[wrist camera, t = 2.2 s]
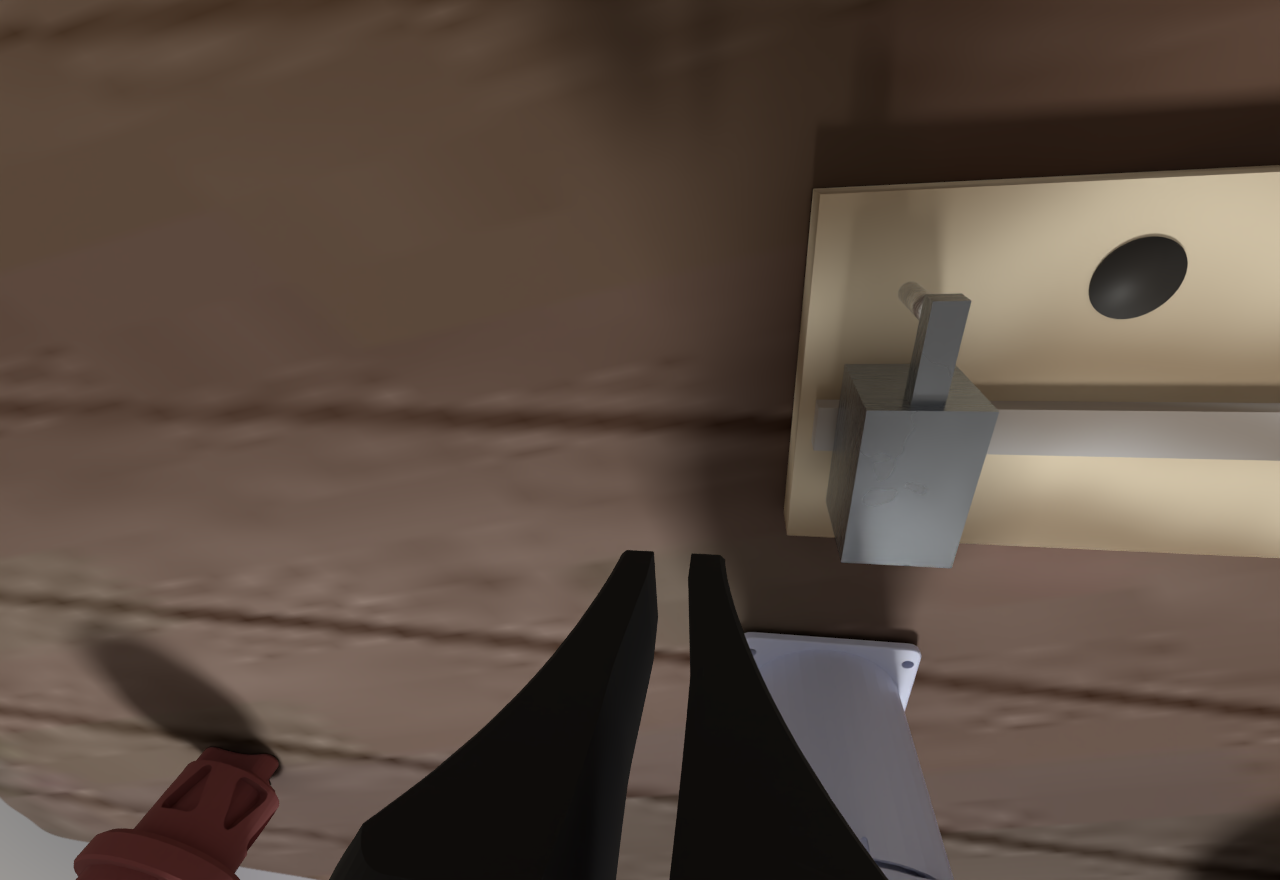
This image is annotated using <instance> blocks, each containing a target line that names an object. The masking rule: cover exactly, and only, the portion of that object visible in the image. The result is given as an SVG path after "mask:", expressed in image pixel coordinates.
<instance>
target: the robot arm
mask: <svg viewBox="0 0 1280 880" xmlns="http://www.w3.org/2000/svg"><path fill="white" fill-rule="evenodd" d="M688 588H689V634H690V687H689V698H688V709H687V720H686V730H685V740H684V751H683V761H682V771H681V780H680V790H679V800H678V809H677V819H676V827H675V836H674V845H673V854H672V863H671V871H670V880H954V878H953V875H952V871H951V868H950V865H949V861H948V858H947V854H946V851H945V848H944V844H943V841H942V837H941V834H940V831H939V827H938V824H937V820H936V817H935V814H934V810H933V807H932V804H931V800H930V797H929V793H928V790H927V787H926V783H925V780H924V776H923V773H922V770H921V766H920V763H919V760H918V756H917V753H916V749H915V746H914V743H913V739H912V736H911V732H910V729H909V726H908V722H907V719H906V715H905V709H906V706H907V703H908V699H909V696H910V693H911V689H912V686H913V683H914V679H915V676H916V673H917V670H918V666H919V663H920V660H921V653H920V650H919V648H918V647H917V646H916V645H914V644H909V643H896V642H882V641H869V640H855V639H842V638H828V637H815V636H801V635H787V634H774V633H760V632H747V633H744V632H743V629H742V626H741V624H740V621H739V618H738V615H737V612H736V609H735V606H734V603H733V599H732V596H731V592H730V588H729V584H728V579H727V574H726V568H725V559H724V558H723V557H722V556H720V555H709V554H692V555H691V562H690V569H689V577H688ZM657 621H658V610H657V594H656V578H655V563H654V552H652V551H633V550H626V551H625V552H624V553H623V554H622V555H621V557H620V559H619V561H618V562H617V564H616V566H615V568H614V569H613V571H612V573H611V575H610V576H609V578H608V579H607V581H606V583H605V584H604V586H603V587H602V589H601V590H600V592H599V593H598V595H597V597H596V598H595V599H594V601H593V602H592V604H591V605H590V607H589V608H588V609H587V611H586V612H585V614H584V615H583V617H582V618H581V619H580V621H579V622H578V623H577V625H576V626H575V628H574V629H573V630H572V631H571V633H570V634H569V635H568V636H567V638H566V639H565V640H564V641H563V643H562V644H561V645H560V647H559V648H558V649H557V650H556V652H555V653H554V654H553V655H552V657H551V658H550V659H549V660H548V661H547V662H546V664H545V665H544V666H543V667H542V668H541V669H540V670H539V672H538V673H537V674H536V675H535V676H534V677H533V678H532V679H531V680H530V681H529V683H528V684H527V685H526V686H525V687H524V688H523V689H522V690H521V691H520V692H519V693H518V694H517V695H516V696H515V697H514V698H513V699H512V700H511V701H510V702H509V703H508V704H507V705H506V706H505V707H504V708H503V709H502V710H501V711H500V712H499V713H498V714H497V715H496V716H495V717H494V718H493V719H492V720H491V721H490V722H489V723H488V724H487V725H486V726H485V727H483V728H482V729H481V730H480V731H479V732H478V733H477V734H476V735H475V736H474V737H472V738H471V739H470V740H469V741H468V742H467V743H465V744H464V745H463V746H462V747H461V748H459V749H458V750H457V751H456V752H455V753H454V754H452V755H451V756H450V757H449V758H448V759H447V760H445V761H444V762H443V763H442V764H441V765H440V766H438V767H437V768H436V769H435V770H434V771H432V772H431V773H430V774H429V775H427V776H426V777H425V778H424V779H422V780H421V781H420V782H418V783H417V784H416V785H414V786H413V787H412V788H410V789H409V790H408V791H406V792H405V793H404V794H402V795H401V796H400V797H398V798H397V799H396V800H394V801H393V802H392V803H390V804H389V805H388V806H386V807H385V808H384V809H382V810H381V811H380V812H378V813H377V814H376V815H374V816H373V817H371V818H370V819H369V820H367V821H366V822H364V823H363V824H362V826H361V828H360V829H359V831H358V833H357V834H356V836H355V837H354V839H353V841H352V842H351V844H350V845H349V846H348V848H347V849H346V851H345V853H344V854H343V856H342V858H341V859H340V861H339V863H338V864H337V866H336V868H335V870H334V872H333V873H332V875H331V877H330V879H329V880H616V874H617V865H618V857H619V849H620V840H621V832H622V824H623V816H624V809H625V801H626V793H627V785H628V780H629V774H630V768H631V763H632V758H633V753H634V749H635V744H636V739H637V735H638V730H639V726H640V721H641V716H642V712H643V707H644V703H645V698H646V693H647V689H648V684H649V679H650V674H651V670H652V665H653V659H654V650H655V641H656V631H657Z"/></svg>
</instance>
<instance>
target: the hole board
mask: <svg viewBox="0 0 1280 880" xmlns="http://www.w3.org/2000/svg"><path fill="white" fill-rule="evenodd" d="M907 282H916V283H918V284H919V285H920V286H922V287H923V288H924V289H925V290H926V291H928V292H929V293H930V294H958V293H962V294H963V295H964V296H966V297H967V298H969V299H970V300H971V305H970V309H969V313H968V317H967V321H966V325H965V329H964V333H963V337H962V341H961V345H960V349H959V353H958V357H957V361H956V366H957V367H958V368H959V369H960V370H961V371H962V372H963V373H964V374H965V375H966V376H967V378H968V379H969V380H970V381H971V382H972V383H973V384H974V385H975V386H976V387H977V388H978V389H979V390H980V392H981V393H982V394H983V395H984V396H985V397H986V398H987V399H988V400H989V401H990V402H991V403H992V404H993V406H994V407H995V408H996V409H997V410H998V411H999V415H998V418H997V421H996V425H995V428H994V431H993V434H992V438H991V441H990V444H989V447H988V451H987V454H986V457H985V461H984V464H983V467H982V470H981V474H980V477H979V480H978V483H977V487H976V490H975V493H974V496H973V500H972V503H971V506H970V509H969V513H968V516H967V519H966V522H965V526H964V529H963V532H962V535H961V539H960V542H959V543H963V544H984V545H1006V546H1028V547H1050V548H1071V549H1093V550H1115V551H1137V552H1159V553H1180V554H1202V555H1224V556H1246V557H1267V558H1280V165H1269V166H1250V167H1230V168H1210V169H1191V170H1171V171H1151V172H1132V173H1112V174H1092V175H1073V176H1053V177H1034V178H1014V179H994V180H975V181H955V182H935V183H916V184H896V185H876V186H857V187H837V188H817V189H813V196H812V207H811V218H810V229H809V240H808V251H807V262H806V273H805V284H804V295H803V306H802V317H801V328H800V339H799V350H798V361H797V372H796V383H795V394H794V405H793V415H792V426H791V437H790V448H789V459H788V470H787V481H786V492H785V503H784V517H785V524H786V531H787V535H789V536H810V537H832V538H835V536H834V532H833V528H832V524H831V520H830V516H829V512H828V508H827V504H826V495H827V488H828V481H829V474H830V467H831V459H832V452H833V445H834V438H835V430H836V423H837V416H838V409H839V402H840V394H841V387H842V380H843V373H844V365H845V364H911V359H912V354H913V349H914V344H915V339H916V334H917V329H918V324H919V320H918V319H917V318H916V317H915V316H914V315H913V314H912V312H911V311H910V310H909V309H908V308H907V307H906V306H905V305H904V304H903V303H902V302H901V301H900V300H899V298H898V291H899V289H900V287H901V286H902V285H903V284H905V283H907Z"/></svg>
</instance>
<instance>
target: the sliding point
mask: <svg viewBox="0 0 1280 880" xmlns="http://www.w3.org/2000/svg"><path fill="white" fill-rule="evenodd" d="M898 298H899V300H900V301H901V302H902V303H903V304H904V305H905V306H906V307H907V308H908V309H909V310H910V311H911V312H912V314H913V315H914V316H915V317H916V318H917V319H918V320H919V324H918V329H917V334H916V339H915V344H914V349H913V354H912V359H911V364H845V365H844V373H843V380H842V387H841V394H840V402H839V409H838V416H837V423H836V430H835V438H834V445H833V452H832V459H831V467H830V474H829V481H828V488H827V495H826V504H827V508H828V512H829V516H830V520H831V524H832V528H833V532H834V536H835V540H836V544H837V548H838V552H839V556H840V560H841V562H842V563H861V564H880V565H899V566H918V567H937V568H952V565H953V561H954V558H955V555H956V552H957V548H958V545H959V542H960V539H961V535H962V532H963V529H964V526H965V522H966V519H967V516H968V513H969V509H970V506H971V503H972V500H973V496H974V493H975V490H976V487H977V483H978V480H979V477H980V474H981V470H982V467H983V464H984V461H985V457H986V454H987V451H988V447H989V444H990V441H991V438H992V434H993V431H994V428H995V425H996V421H997V418H998V415H999V411H998V410H997V409H996V408H995V407H994V406H993V404H992V403H991V402H990V401H989V400H988V399H987V398H986V397H985V396H984V395H983V394H982V393H981V392H980V390H979V389H978V388H977V387H976V386H975V385H974V384H973V383H972V382H971V381H970V380H969V379H968V378H967V376H966V375H965V374H964V373H963V372H962V371H961V370H960V369H959V368H958V367H957V366H956V361H957V357H958V353H959V349H960V345H961V341H962V337H963V333H964V329H965V325H966V321H967V317H968V313H969V309H970V305H971V300H970V299H969V298H967V297H966V296H964V295H963V294H962V293H958V294H930V293H929V292H928V291H926V290H925V289H924V288H923V287H922V286H920V285H919V284H918V283H916V282H907V283H905V284H903V285H902V286H901V287H900V289H899V291H898Z"/></svg>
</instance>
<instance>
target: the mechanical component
mask: <svg viewBox="0 0 1280 880" xmlns="http://www.w3.org/2000/svg"><path fill="white" fill-rule="evenodd" d="M278 766H279V763H278V760H277V759H276V758H275V757H273V756H272V755H269V754H257V755H250V754H240V753H235V752H230V751H226V750H223V749H220V748H217V747H209V748H207V749H205V751H204V752H203V753H202V754H201V755H200V757H199V758H198V759H197V760H196V761H193V762H191V763H189V764H188V765H187V766H186V768H185V769H184V770H183V772H182V773H181V774H180V775H179V776H178V777H177V779H176V780H175V781H174V782H173V783H172V784H171V785H170V787H169V788H168V789H167V790H166V791H165V792H164V794H163V795H162V796H161V797H160V798H159V800H158V801H157V802H156V803H155V804H154V806H153V807H152V808H151V809H150V810H149V811H148V813H147V814H146V815H145V816H144V817H143V819H142V820H141V821H140V822H139V823H138V824H137V826H136V827H135V828H134V829H112V830H109V831H106V832H103V833H100V834H98V835H96V836H95V837H94V838H93V839H92V840H91V841H90V843H89V844H88V845H87V846H86V847H85V848H84V849H83V851H82V852H81V853H80V854H79V855H78V856H77V858H76V859H75V860H74V870H75V872H76V874H77V875H78V878H77V879H76V880H240V879H239V878H238V877H237V876H236V875H235V874H234V873H235V872H236V870H237V869H238V867H239V866H240V864H241V863H242V861H243V860H244V858H245V857H246V855H247V851H248V849H249V848H250V847H251V845H252V844H253V843H254V841H255V840H256V839H257V837H258V836H259V835H260V833H261V832H262V830H263V829H264V828H265V826H266V825H267V823H268V822H269V820H270V819H271V817H272V816H273V814H274V813H275V811H276V810H277V808H278V807H279V800H278V797H277V796H276V794H275V790H274V789H273V788H272V787H271V786H270V783H269V779H270V777H271V776H272V775H273V773H274V772H275V770H276V769H277V768H278Z"/></svg>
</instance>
